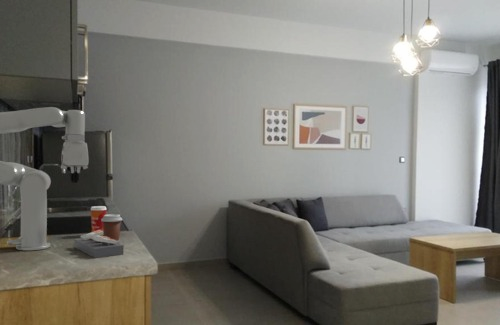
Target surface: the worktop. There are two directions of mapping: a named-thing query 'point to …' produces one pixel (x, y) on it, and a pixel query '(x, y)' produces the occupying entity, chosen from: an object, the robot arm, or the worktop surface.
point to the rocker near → (104, 240)
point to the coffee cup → (112, 226)
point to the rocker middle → (95, 236)
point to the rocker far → (92, 234)
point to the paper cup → (97, 217)
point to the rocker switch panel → (98, 248)
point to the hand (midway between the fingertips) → (74, 182)
